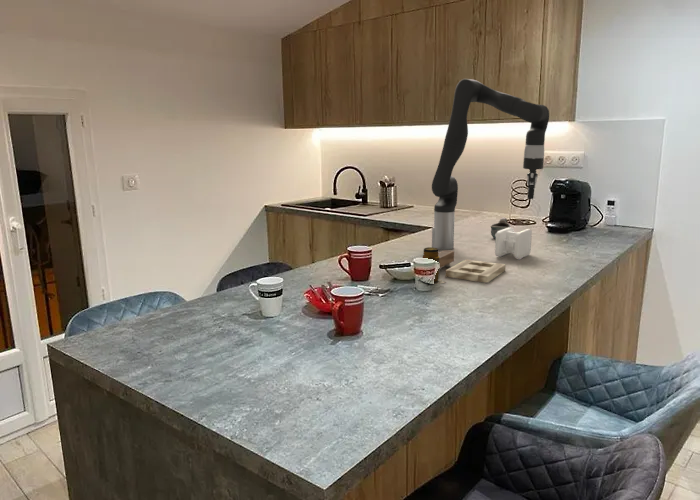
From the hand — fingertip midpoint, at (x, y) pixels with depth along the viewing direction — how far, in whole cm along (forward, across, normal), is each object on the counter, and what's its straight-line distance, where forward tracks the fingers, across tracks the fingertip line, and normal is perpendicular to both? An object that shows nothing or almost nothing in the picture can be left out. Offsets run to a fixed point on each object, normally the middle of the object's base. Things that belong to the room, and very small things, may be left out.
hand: (530, 197), depth 211 cm
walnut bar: (+27, +23, -31) cm, 47 cm away
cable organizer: (+27, -7, -6) cm, 28 cm away
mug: (+27, -45, -14) cm, 54 cm away
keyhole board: (+26, +26, -17) cm, 41 cm away
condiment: (+27, +41, -31) cm, 58 cm away
